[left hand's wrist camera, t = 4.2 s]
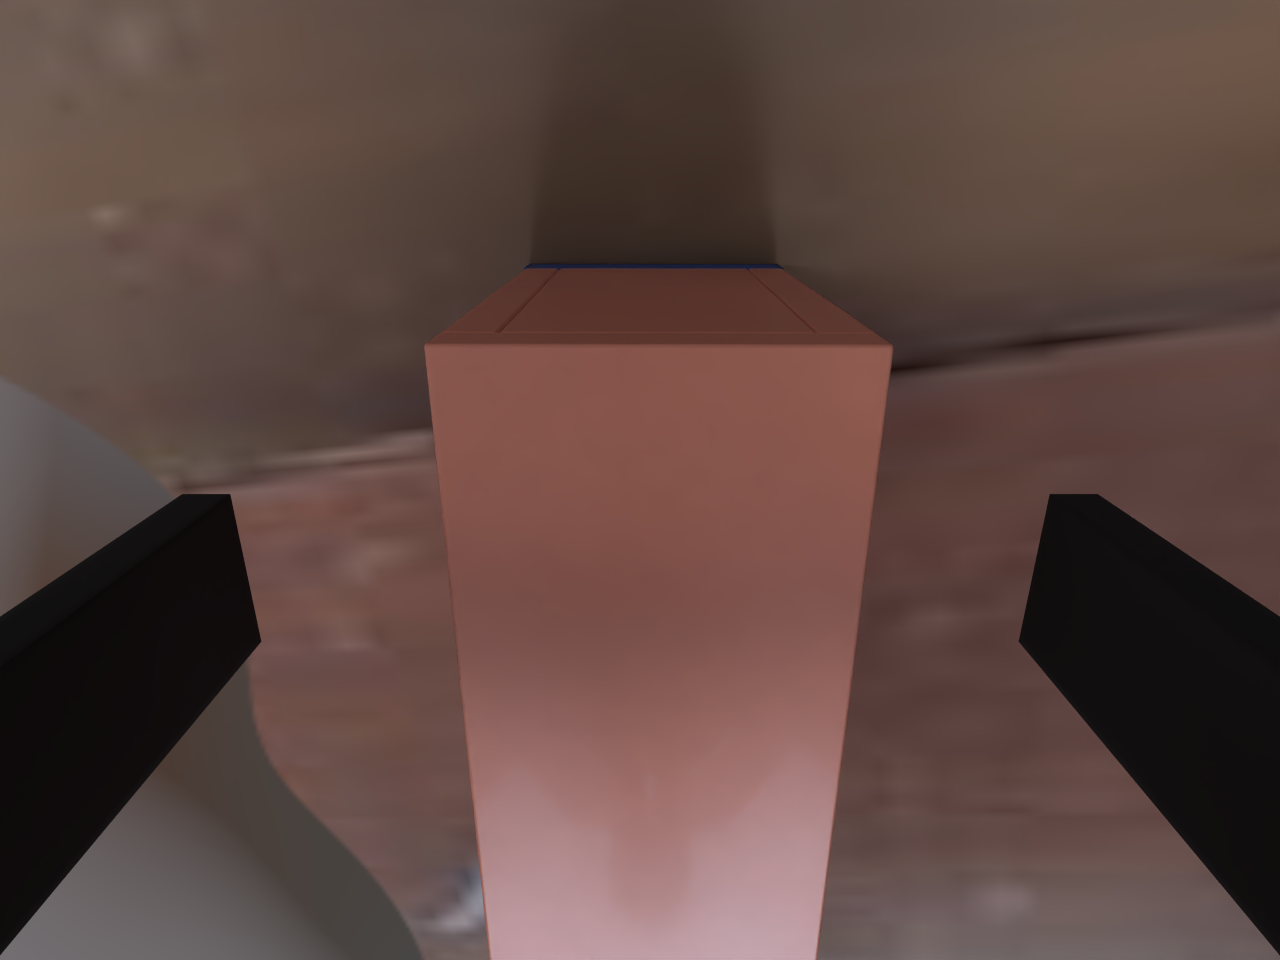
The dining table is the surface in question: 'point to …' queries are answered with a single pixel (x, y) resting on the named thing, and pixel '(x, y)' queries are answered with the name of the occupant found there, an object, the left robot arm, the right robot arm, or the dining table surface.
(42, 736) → the left robot arm
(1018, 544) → the dining table surface
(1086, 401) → the dining table surface
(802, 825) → the cabinet
